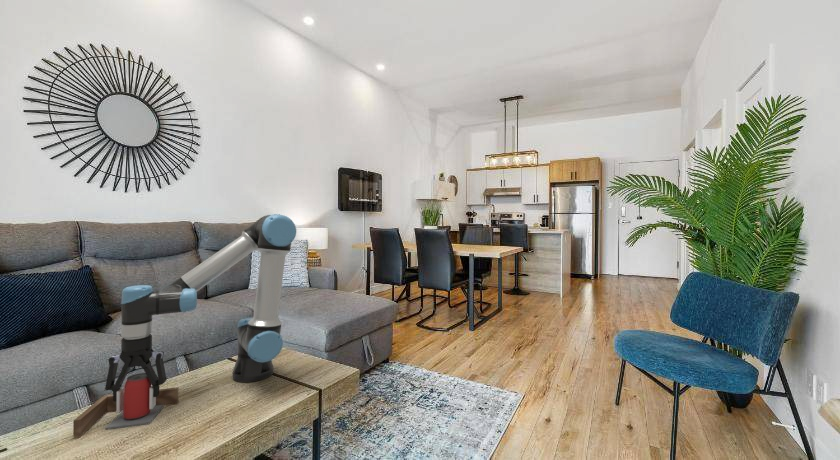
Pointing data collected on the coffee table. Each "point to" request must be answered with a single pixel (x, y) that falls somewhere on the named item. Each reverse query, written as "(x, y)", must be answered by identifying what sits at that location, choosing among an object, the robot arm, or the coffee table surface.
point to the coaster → (122, 422)
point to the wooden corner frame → (115, 409)
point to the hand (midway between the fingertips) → (136, 408)
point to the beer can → (136, 396)
